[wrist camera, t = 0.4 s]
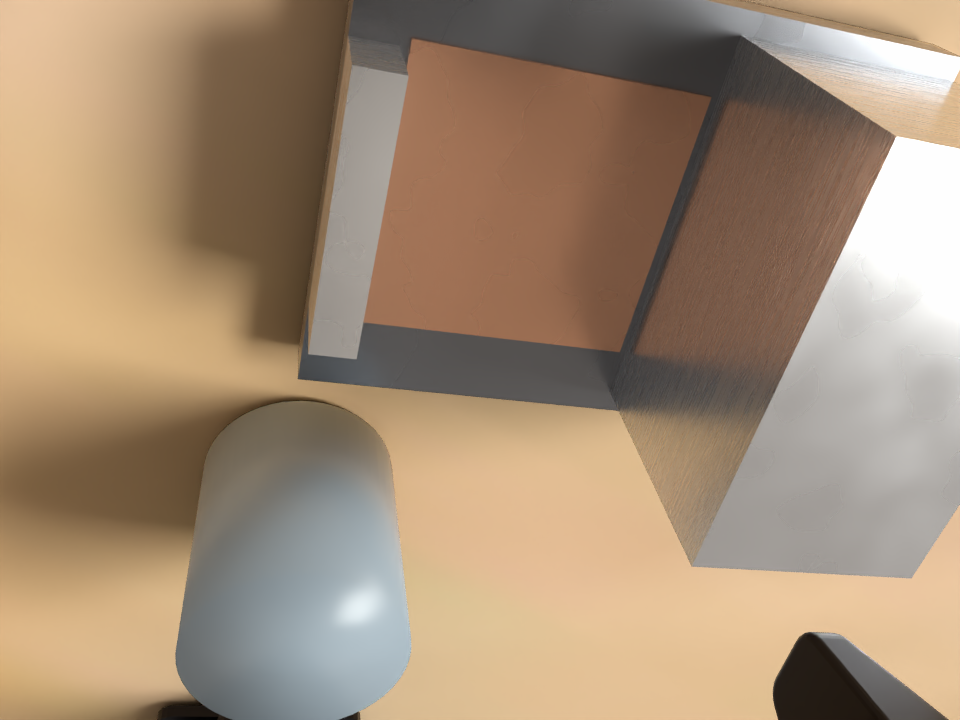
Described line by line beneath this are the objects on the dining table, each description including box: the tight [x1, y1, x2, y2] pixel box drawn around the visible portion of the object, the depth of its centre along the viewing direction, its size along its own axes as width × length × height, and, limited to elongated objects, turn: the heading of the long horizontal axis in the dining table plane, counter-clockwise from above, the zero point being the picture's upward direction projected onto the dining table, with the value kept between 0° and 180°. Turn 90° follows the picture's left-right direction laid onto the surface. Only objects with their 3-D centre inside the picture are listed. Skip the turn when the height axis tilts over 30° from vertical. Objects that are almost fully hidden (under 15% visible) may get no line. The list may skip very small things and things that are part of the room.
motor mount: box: [298, 0, 960, 578], centre depth 19 cm, size 10×13×7 cm
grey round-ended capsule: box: [176, 401, 411, 720], centre depth 22 cm, size 5×5×6 cm
